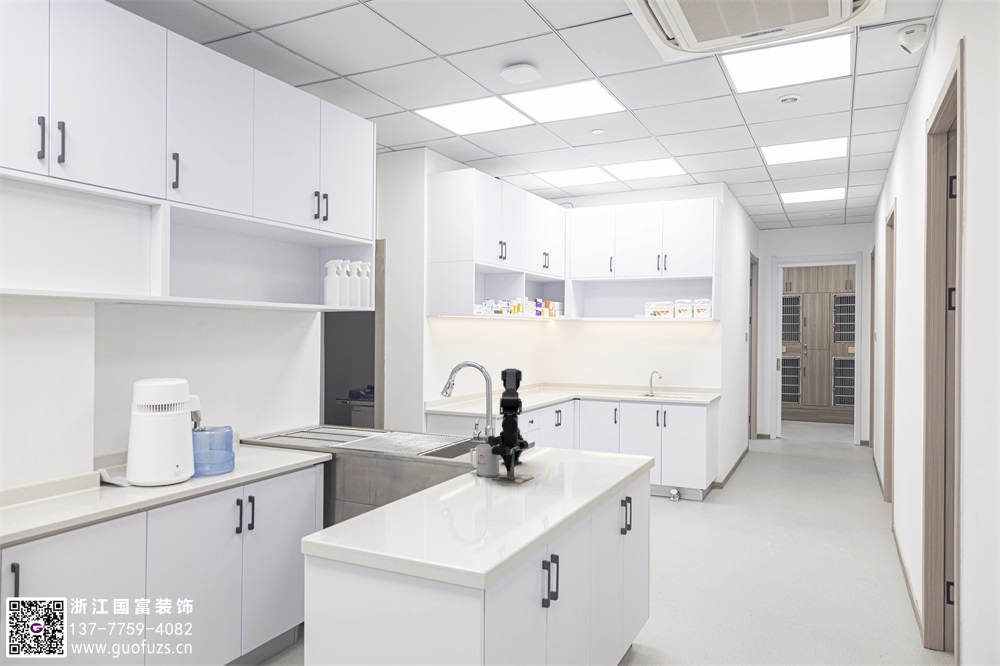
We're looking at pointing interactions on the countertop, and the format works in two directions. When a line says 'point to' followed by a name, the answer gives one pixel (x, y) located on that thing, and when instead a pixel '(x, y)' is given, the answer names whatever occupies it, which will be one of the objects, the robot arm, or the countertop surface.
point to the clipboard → (513, 478)
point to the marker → (511, 472)
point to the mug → (485, 461)
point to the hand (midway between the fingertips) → (510, 470)
